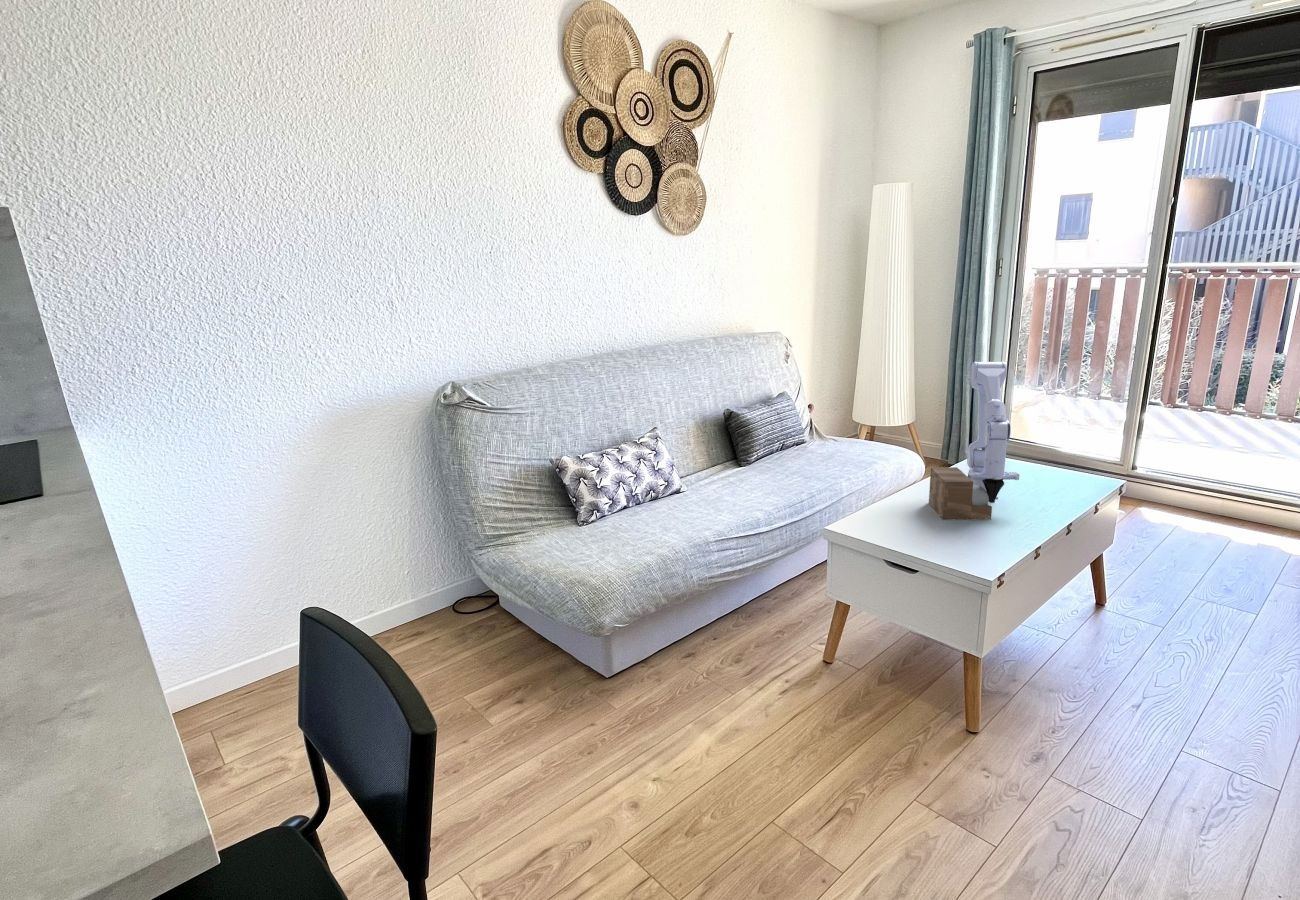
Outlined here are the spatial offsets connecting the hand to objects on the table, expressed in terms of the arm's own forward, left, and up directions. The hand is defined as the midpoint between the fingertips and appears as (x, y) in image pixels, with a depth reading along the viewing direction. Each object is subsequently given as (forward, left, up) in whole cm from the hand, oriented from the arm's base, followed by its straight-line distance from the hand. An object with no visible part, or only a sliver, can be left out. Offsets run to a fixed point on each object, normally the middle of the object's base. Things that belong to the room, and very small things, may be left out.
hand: (991, 501), depth 217 cm
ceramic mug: (+1, -5, -3) cm, 6 cm away
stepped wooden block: (0, -10, -3) cm, 10 cm away
